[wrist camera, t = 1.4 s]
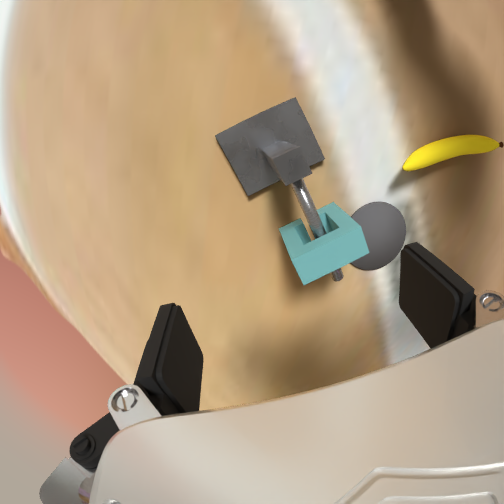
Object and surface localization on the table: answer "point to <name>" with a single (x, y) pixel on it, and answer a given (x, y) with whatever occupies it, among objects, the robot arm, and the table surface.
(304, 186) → the stand
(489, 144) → the banana
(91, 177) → the table surface
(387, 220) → the coaster
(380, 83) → the table surface
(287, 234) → the link
